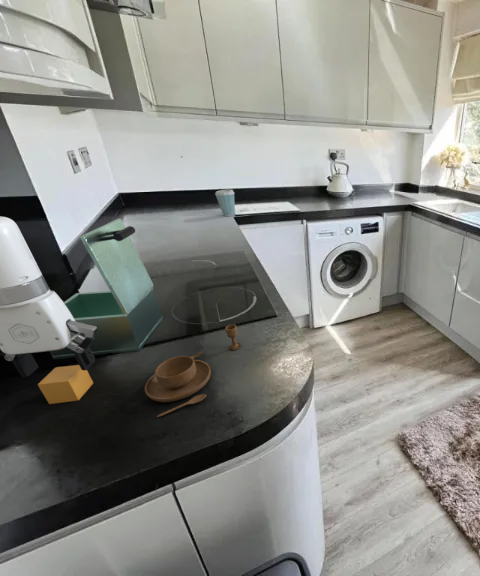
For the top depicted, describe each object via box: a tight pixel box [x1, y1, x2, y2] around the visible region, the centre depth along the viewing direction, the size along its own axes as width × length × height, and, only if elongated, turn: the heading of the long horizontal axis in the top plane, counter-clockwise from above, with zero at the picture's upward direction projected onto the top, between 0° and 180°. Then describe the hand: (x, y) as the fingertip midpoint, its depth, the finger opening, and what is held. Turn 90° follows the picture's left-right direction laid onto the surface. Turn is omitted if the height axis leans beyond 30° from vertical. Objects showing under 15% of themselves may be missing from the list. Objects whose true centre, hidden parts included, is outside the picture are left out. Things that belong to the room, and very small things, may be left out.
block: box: [37, 364, 94, 405], centre depth 64 cm, size 5×5×5 cm
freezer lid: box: [79, 218, 155, 314], centre depth 76 cm, size 19×15×5 cm
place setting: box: [144, 323, 242, 418], centre depth 69 cm, size 18×20×6 cm
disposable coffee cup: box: [214, 188, 236, 217], centre depth 197 cm, size 11×11×15 cm
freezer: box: [48, 287, 164, 360], centre depth 81 cm, size 18×15×10 cm
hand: (60, 369), depth 63 cm, fingers open, 9 cm apart
